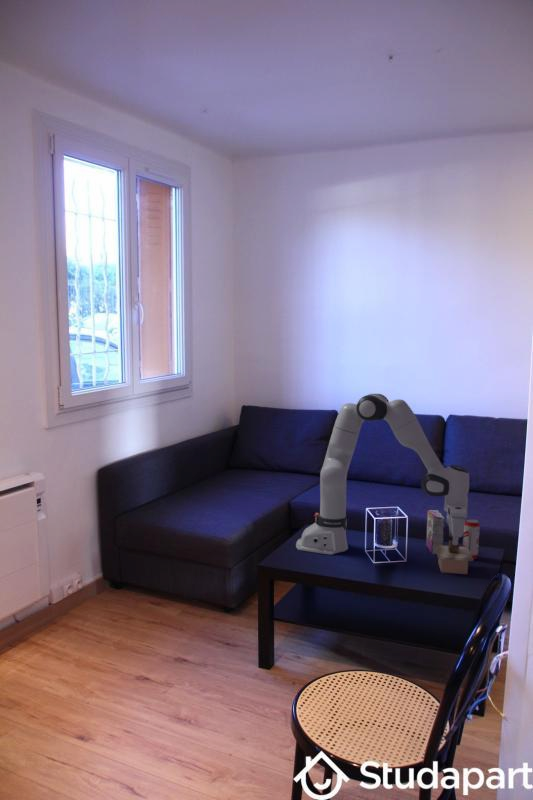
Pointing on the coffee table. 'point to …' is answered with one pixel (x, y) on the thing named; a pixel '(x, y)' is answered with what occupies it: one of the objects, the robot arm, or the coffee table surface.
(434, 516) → the candy bar box
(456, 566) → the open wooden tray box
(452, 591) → the coffee table surface
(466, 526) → the beer can
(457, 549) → the lid
